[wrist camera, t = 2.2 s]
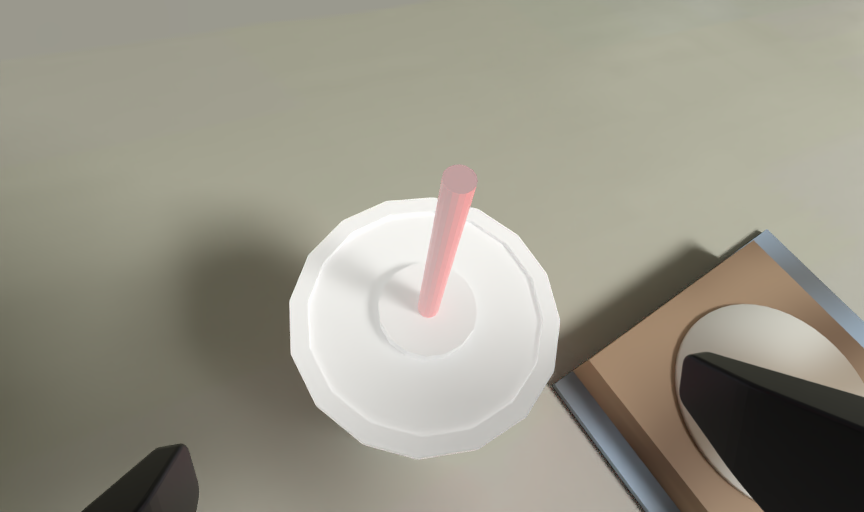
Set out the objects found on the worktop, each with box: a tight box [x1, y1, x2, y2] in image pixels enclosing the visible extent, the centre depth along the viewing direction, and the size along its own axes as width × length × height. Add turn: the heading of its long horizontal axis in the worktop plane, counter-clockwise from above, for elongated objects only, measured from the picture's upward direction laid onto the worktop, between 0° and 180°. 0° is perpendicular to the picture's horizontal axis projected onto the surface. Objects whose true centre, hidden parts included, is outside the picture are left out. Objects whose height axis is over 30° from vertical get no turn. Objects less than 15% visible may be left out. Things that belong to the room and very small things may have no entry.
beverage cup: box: [289, 165, 560, 460], centre depth 12 cm, size 6×6×14 cm
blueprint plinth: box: [552, 230, 864, 512], centre depth 18 cm, size 16×14×2 cm
